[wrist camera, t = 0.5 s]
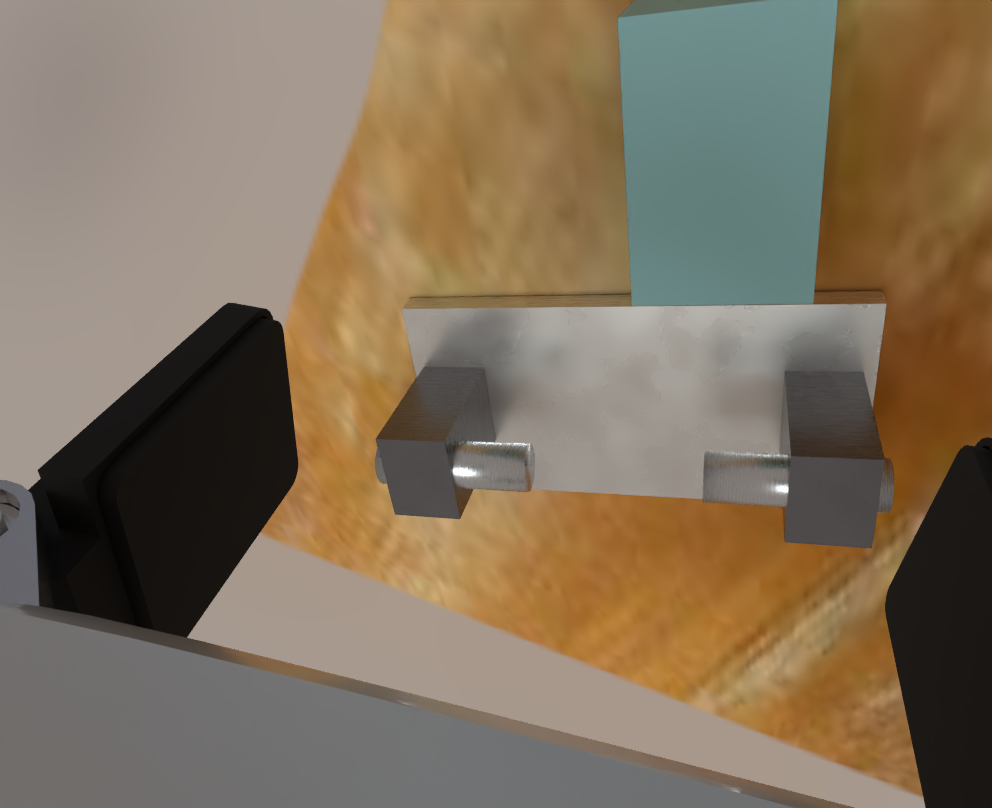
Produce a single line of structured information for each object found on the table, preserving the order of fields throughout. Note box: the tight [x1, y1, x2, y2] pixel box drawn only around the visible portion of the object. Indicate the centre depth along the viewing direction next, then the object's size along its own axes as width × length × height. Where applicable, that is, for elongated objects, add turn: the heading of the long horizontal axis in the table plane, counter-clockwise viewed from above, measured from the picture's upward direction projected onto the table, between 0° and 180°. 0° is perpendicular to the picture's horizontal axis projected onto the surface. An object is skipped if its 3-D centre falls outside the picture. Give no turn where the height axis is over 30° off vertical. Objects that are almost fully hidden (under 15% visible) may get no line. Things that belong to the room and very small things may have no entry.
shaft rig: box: [375, 291, 894, 548], centre depth 34 cm, size 10×20×7 cm, turn 98°
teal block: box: [618, 0, 838, 306], centre depth 27 cm, size 6×9×6 cm, turn 8°
